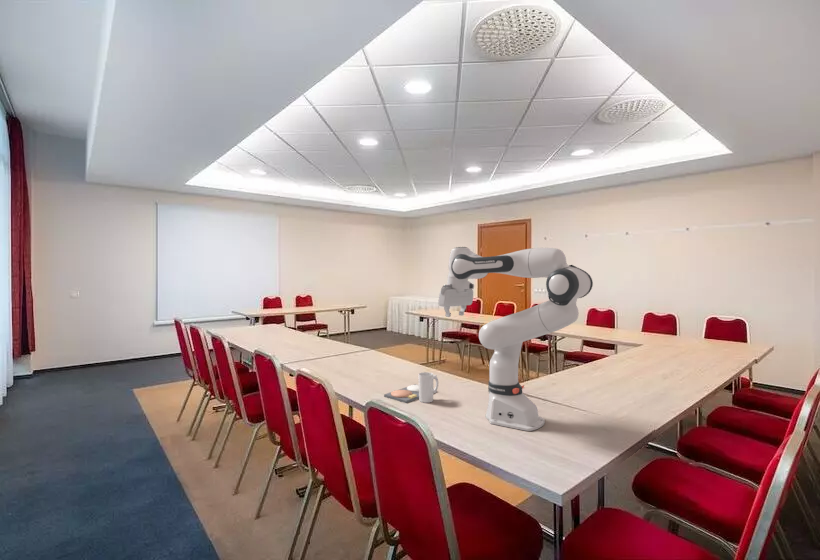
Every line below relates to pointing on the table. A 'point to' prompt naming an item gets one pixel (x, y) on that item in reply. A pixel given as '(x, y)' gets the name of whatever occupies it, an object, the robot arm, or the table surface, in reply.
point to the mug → (427, 386)
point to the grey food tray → (405, 394)
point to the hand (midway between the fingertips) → (454, 316)
